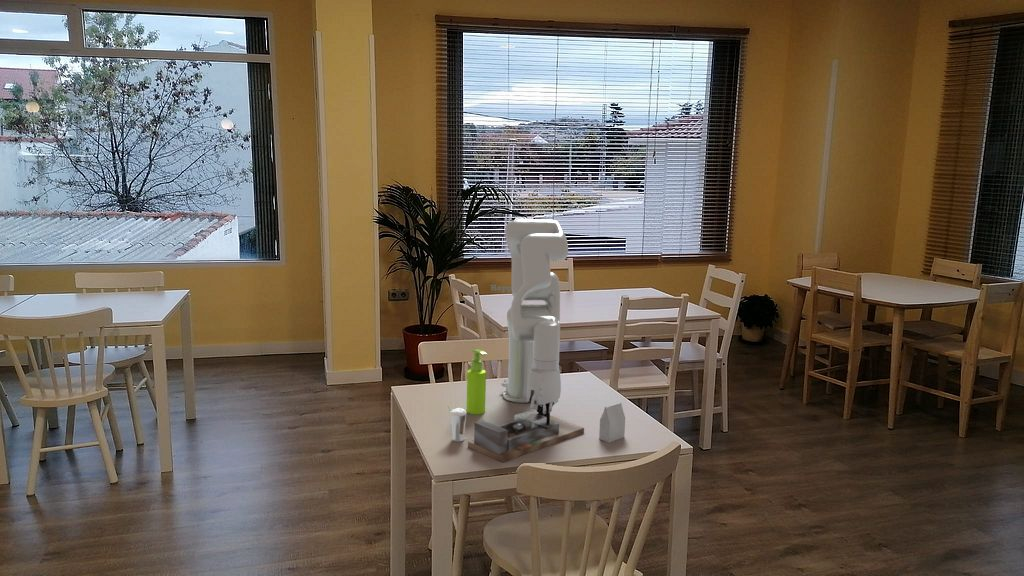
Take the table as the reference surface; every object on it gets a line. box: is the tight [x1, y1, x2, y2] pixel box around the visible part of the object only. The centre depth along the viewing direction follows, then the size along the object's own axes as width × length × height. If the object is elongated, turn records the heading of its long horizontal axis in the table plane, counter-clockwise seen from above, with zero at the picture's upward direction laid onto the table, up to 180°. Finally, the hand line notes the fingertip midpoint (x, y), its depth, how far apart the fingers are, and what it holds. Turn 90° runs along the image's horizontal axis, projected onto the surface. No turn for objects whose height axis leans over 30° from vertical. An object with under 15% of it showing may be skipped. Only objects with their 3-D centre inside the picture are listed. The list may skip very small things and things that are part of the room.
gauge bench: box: [467, 415, 585, 463], centre depth 210 cm, size 33×14×8 cm, turn 134°
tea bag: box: [598, 402, 626, 444], centre depth 213 cm, size 4×7×10 cm, turn 131°
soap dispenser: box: [466, 348, 488, 415], centre depth 231 cm, size 6×7×20 cm
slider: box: [512, 410, 548, 434], centre depth 209 cm, size 9×10×5 cm
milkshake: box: [447, 406, 468, 443], centre depth 209 cm, size 4×5×10 cm
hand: (543, 425), depth 215 cm, fingers closed
